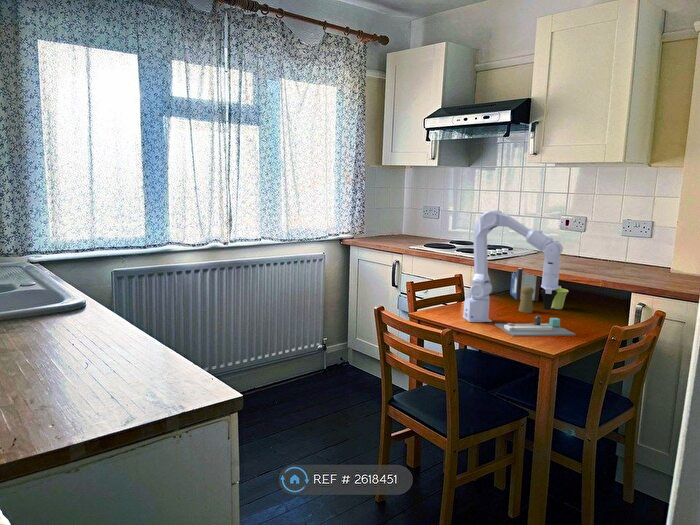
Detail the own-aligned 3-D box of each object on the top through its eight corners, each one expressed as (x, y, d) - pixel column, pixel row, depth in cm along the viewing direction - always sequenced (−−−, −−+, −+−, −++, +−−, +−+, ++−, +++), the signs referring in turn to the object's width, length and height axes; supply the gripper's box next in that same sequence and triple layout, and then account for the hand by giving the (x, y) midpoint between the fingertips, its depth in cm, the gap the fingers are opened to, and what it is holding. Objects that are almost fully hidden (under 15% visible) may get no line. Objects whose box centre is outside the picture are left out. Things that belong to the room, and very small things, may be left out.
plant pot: (559, 305, 245) (561, 287, 244) (570, 310, 236) (572, 291, 234) (540, 305, 243) (542, 287, 242) (551, 310, 234) (553, 291, 233)
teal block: (552, 326, 203) (553, 319, 202) (549, 324, 205) (549, 317, 205) (559, 326, 203) (560, 319, 203) (556, 324, 206) (556, 317, 205)
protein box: (530, 294, 267) (533, 264, 265) (538, 301, 252) (541, 269, 250) (509, 293, 268) (512, 263, 266) (515, 300, 253) (518, 268, 251)
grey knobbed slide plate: (512, 336, 190) (513, 329, 190) (494, 325, 205) (494, 319, 204) (575, 335, 194) (576, 329, 194) (553, 324, 209) (553, 318, 209)
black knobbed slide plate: (515, 328, 197) (516, 317, 197) (512, 326, 199) (513, 315, 199) (549, 328, 200) (550, 317, 199) (546, 326, 202) (547, 315, 201)
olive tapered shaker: (533, 313, 227) (536, 288, 225) (519, 312, 228) (521, 287, 226) (531, 310, 233) (534, 285, 231) (517, 309, 234) (519, 284, 232)
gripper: (562, 277, 187) (558, 314, 189) (562, 272, 200) (559, 306, 202) (541, 275, 190) (537, 312, 192) (543, 270, 203) (539, 304, 205)
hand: (547, 309), depth 197 cm, fingers closed
